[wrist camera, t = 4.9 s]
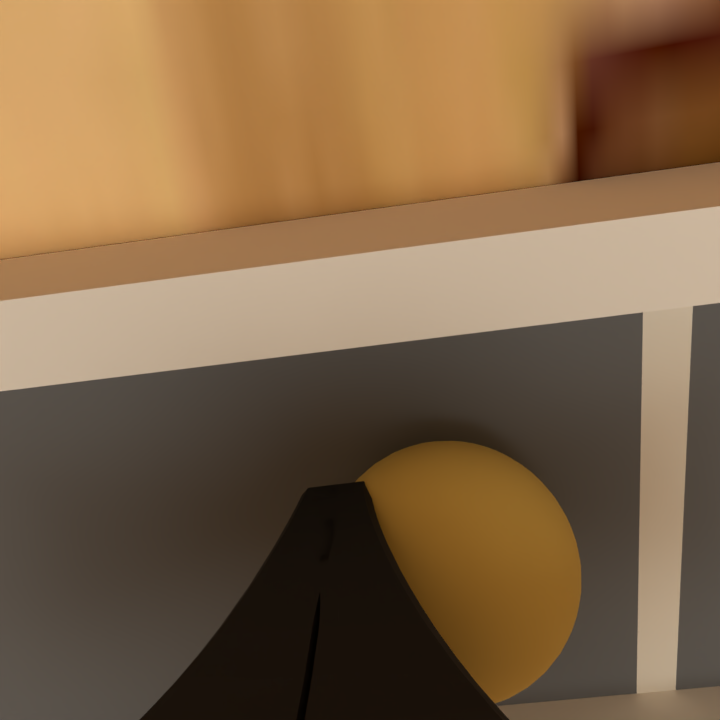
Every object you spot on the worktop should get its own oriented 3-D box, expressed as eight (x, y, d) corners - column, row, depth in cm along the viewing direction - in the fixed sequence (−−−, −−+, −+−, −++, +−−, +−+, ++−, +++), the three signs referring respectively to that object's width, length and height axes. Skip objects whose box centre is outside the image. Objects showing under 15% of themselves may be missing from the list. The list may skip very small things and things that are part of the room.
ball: (346, 747, 11) (408, 553, 14) (600, 783, 9) (610, 551, 12) (234, 589, 9) (333, 403, 12) (524, 595, 8) (558, 376, 11)
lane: (1090, 678, 15) (1259, 819, 12) (-90, 780, 16) (-185, 925, 13) (1292, 84, 10) (1638, 85, 7) (-347, 306, 12) (-567, 375, 9)
